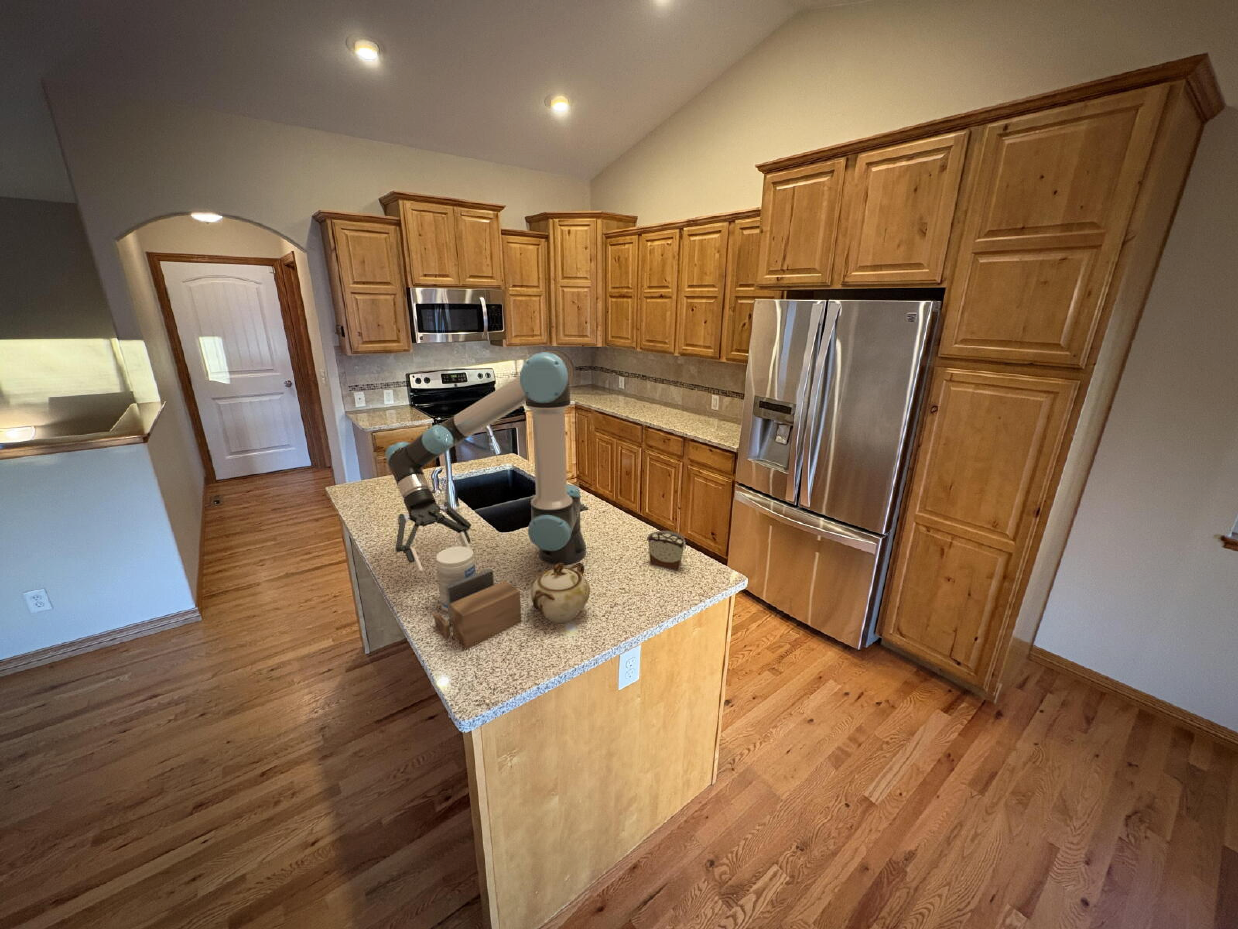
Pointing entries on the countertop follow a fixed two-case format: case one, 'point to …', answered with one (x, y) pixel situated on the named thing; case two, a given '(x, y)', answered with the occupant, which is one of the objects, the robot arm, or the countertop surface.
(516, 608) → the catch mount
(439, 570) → the supplement tub
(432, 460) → the robot arm
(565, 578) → the sugar bowl
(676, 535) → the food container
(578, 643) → the countertop surface
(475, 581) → the plate
